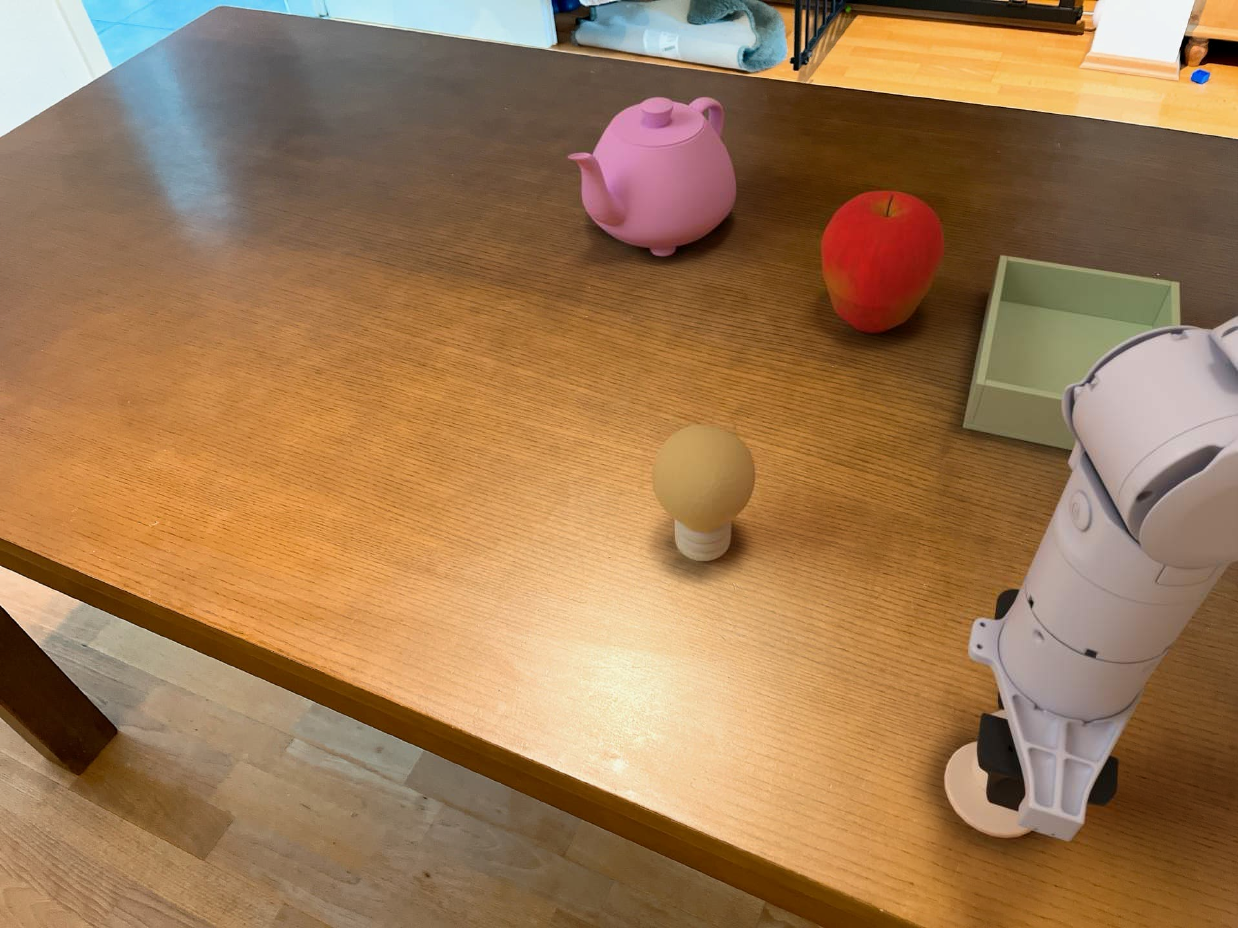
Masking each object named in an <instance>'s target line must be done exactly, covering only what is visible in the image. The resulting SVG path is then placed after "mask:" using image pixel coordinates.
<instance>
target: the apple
mask: <svg viewBox="0 0 1238 928" xmlns="http://www.w3.org/2000/svg"><path fill="white" fill-rule="evenodd" d="M945 247H946V242H945V236H944V231H943V225H942V221H941V220H940V218H939V216H938V215H937V213H936V211H935V210H934V209H932V207H930V206H929V205H928V204H927V203H926V202H925V201H924V200H922V199H921V198H918V197H917V196H914V195H913V194H910V193H906V192H902V191H897V190H896V191H895V190H872V191H867V192H864V193H863V192H862V193H860V194H858V195H856V196H854V197H853V198H851V199H850V200H848V201H846V202H845V203H844V204H843V205H842V206H840V207H839V208H838V209H837V210H836V211H835V213H834V214H833V216H832V217H831V219H830V220H829V223H828V224H827V226H826V227H825V229H824V230H823V234H822V238H821V243H820V249H821V273H822V277H823V279H824V283H825V286H826V289H827V293H828V295H829V298H830V301H831V305H832V307H833V311H834V313H835V314H836V315H838V316H839V317H840V318H841V319H843V320H844V321H845V322H846V323H847V324H848V325H850V327H852V328H853V329H855V330H857V331H859V332H862V333H867V334H879V333H882V332H885V331H888V330H891V329H893V328H895V327H898V326H899V325H902V324H904V323H905V322H906V321H908V320H909V319H910V317H912V316H913V315H914V314H915V312H916V310H917V309H918V307H919V306H920V304H921V303H922V301H923V300H924V298H925V297H926V295H927V294H928V292H929V291H930V290H931V288H932V285H933V282H934V280H935V277H936V275H937V273H938V270H939V267H940V265H941V262H942V260H943V256H944V253H945Z"/></svg>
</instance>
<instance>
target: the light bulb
mask: <svg viewBox="0 0 1238 928" xmlns="http://www.w3.org/2000/svg"><path fill="white" fill-rule="evenodd" d="M755 468H756V467H755V461H754V458H753V456H752V453H751V451H750V449H749V447H748V446H747V445H746V443H745V442H744V441H743V440H742V439H741V438H740V437H739V436H738V435H735V434H734V433H732V432H730V431H729V430H727V429H725V428H723V427H719V426H715V425H711V424H703V423H699V424H697V423H696V424H691V425H686V426H685V427H682V428H681V429H679V430H677V431H676V432H674V433H673V434H672V435H671V436H669V437H668V439H667V440H665V441H664V443H663V444H662V445H661V447H660V448H659V450H658V452H657V453H656V455H655V458H654V461H653V465H652V470H651V482H652V483H651V484H652V489H653V492H654V494H655V495H654V496H655V497H656V499H657V501H658V503H659V504H660V506H661V507H662V509H663V510H664V512H666V513H667V514H668V516H670V517H671V518H673V519H674V542H675V545H676V547H677V549H678V550H679V552H680V553H681V554H682V555H683V556H685V557H687V558H688V559H691V560H693V561H698V562H709V561H713V560H716V559H719V558H720V557H721V556H722V555H724V554H726V552H727V550H728V549H729V547H730V545H731V540H732V521H733V519H735V518H736V517H737V516H739V514H741V512H743V510H744V509H745V508H746V507H747V505H748V503H749V501H750V500H751V497H752V495H753V492H754V488H755V484H756V469H755Z"/></svg>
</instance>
